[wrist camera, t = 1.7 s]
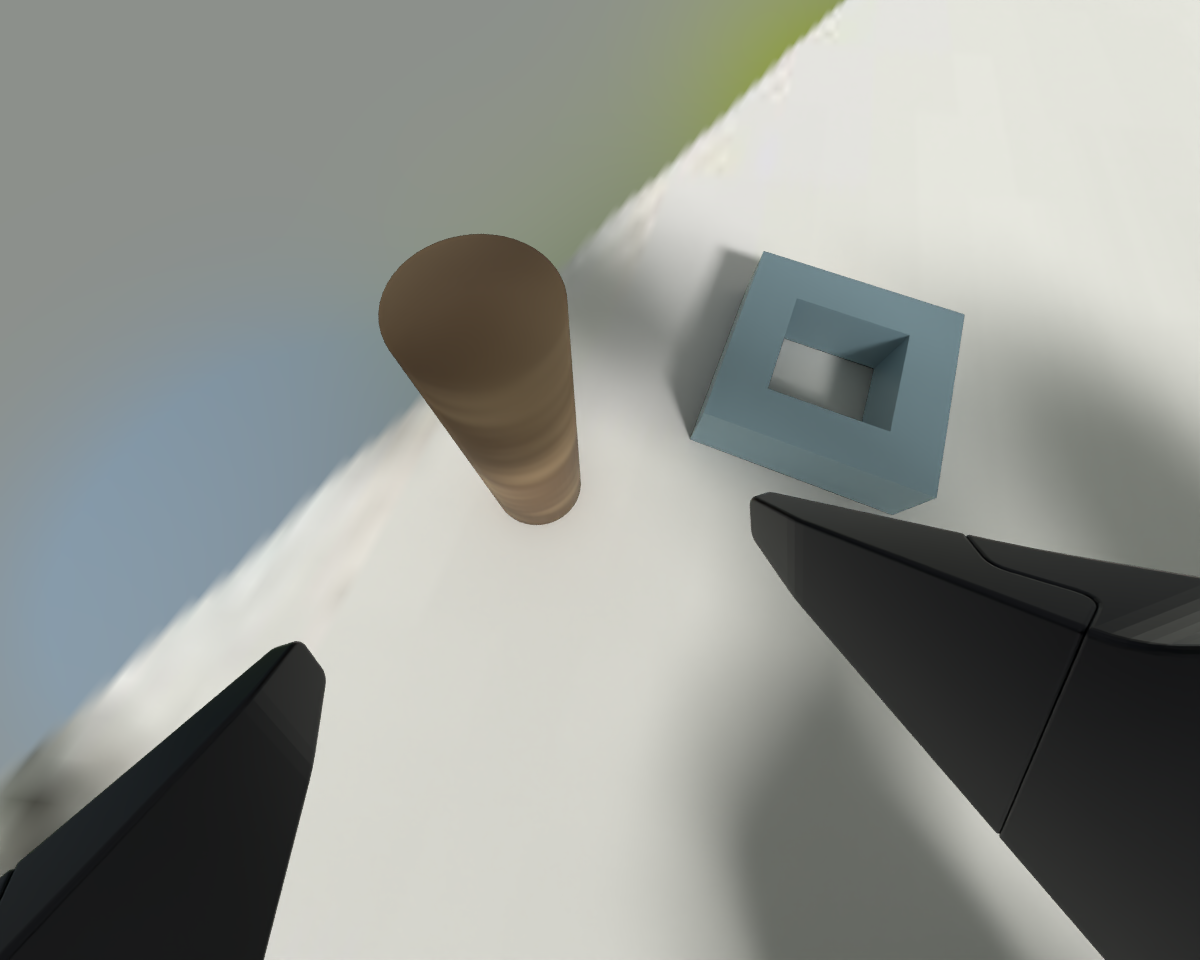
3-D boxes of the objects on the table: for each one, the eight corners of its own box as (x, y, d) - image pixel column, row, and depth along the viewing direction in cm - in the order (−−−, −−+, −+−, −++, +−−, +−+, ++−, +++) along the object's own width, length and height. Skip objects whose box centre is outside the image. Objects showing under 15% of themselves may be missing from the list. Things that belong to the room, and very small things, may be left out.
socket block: (924, 345, 26) (965, 310, 23) (892, 514, 22) (936, 497, 19) (747, 287, 27) (765, 247, 24) (690, 439, 23) (703, 412, 21)
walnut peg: (593, 462, 23) (595, 266, 11) (559, 538, 21) (516, 413, 9) (518, 433, 23) (438, 213, 11) (480, 505, 22) (340, 345, 10)
